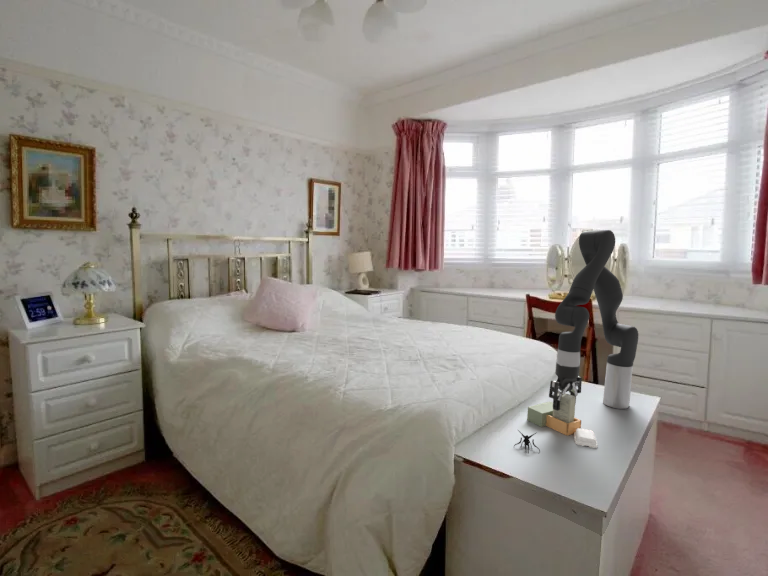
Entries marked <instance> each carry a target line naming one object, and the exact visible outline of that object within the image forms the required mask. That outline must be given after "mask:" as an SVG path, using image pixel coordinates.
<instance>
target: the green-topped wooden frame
mask: <svg viewBox="0 0 768 576" xmlns="http://www.w3.org/2000/svg"><path fill="white" fill-rule="evenodd" d="M552 416H553V401H545V402H543V403H539V404H535V405H530V406H528V407H527V415H526V417H527V418H526V421H528V422H530V423H532V424H534V425H536V426H539V427H540V428H543V427H548V428H550V429H553V430H554V431H557V432H558V433H561V434H562V435H565V436H567V437H568V436H570V435H574V432H576V429H577V428H580V429H582V420H581V419H579V418H577V417H575V416H574V422H571V423H565V422H563V421H561V420H559V419H557V418H554V417H552Z"/></svg>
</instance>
